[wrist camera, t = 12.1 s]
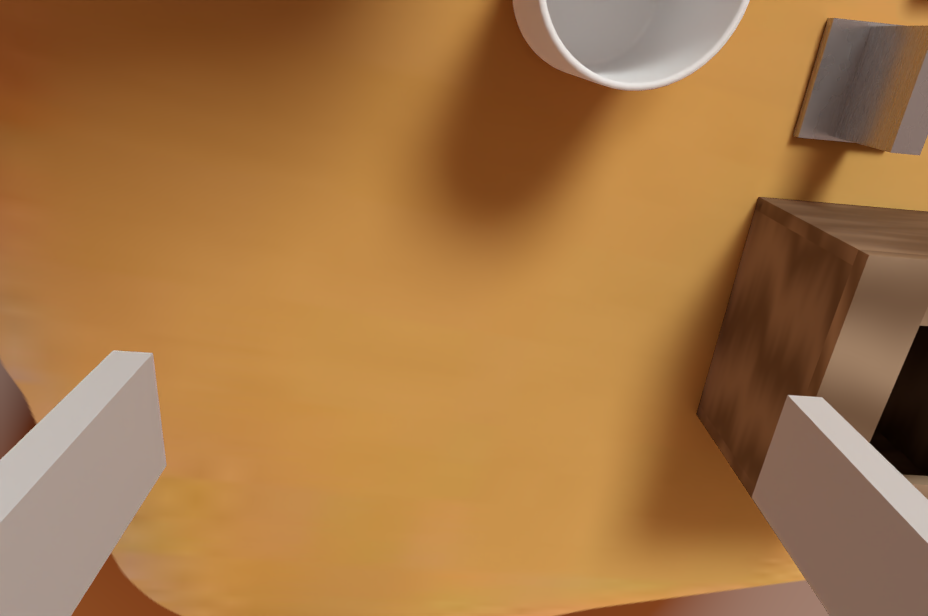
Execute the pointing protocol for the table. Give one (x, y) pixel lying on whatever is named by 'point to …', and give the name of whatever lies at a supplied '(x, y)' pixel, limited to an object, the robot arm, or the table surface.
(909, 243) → the coin box
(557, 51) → the white rounded piece
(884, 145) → the stand
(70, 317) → the table surface
